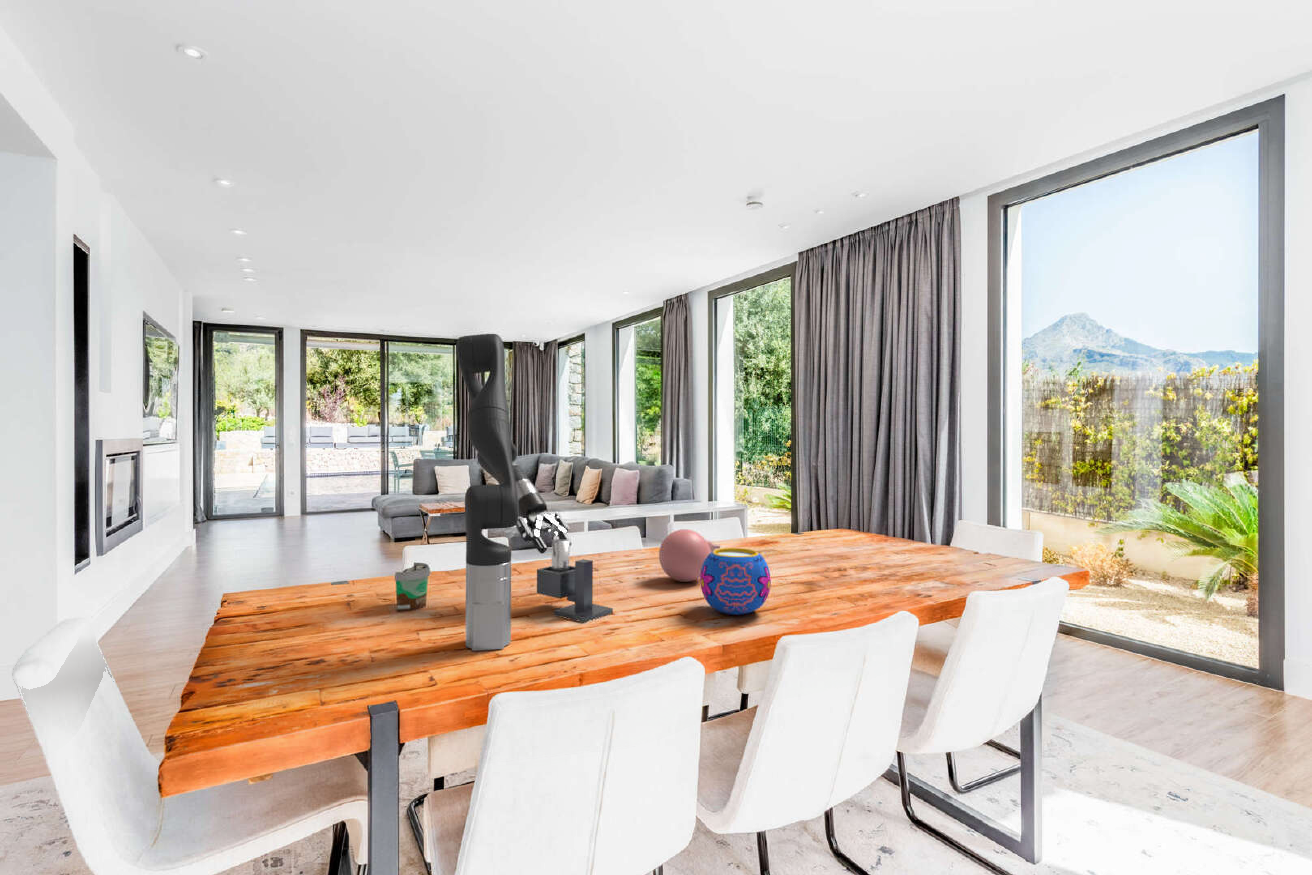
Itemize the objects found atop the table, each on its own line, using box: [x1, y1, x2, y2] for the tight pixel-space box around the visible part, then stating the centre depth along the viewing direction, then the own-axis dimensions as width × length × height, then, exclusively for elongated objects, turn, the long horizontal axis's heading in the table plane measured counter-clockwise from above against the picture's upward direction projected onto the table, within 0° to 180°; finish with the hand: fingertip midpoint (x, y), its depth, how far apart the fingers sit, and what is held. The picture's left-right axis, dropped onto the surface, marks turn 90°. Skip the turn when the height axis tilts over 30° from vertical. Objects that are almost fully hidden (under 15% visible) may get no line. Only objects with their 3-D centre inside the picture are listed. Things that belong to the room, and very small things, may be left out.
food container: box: [394, 562, 432, 613], centre depth 162 cm, size 12×6×10 cm, turn 179°
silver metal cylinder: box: [550, 538, 571, 573], centre depth 161 cm, size 4×4×12 cm
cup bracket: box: [536, 558, 614, 623], centre depth 158 cm, size 17×10×13 cm, turn 54°
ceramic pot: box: [699, 547, 772, 616], centre depth 159 cm, size 18×18×15 cm
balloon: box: [658, 529, 721, 583], centre depth 192 cm, size 15×20×15 cm
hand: (557, 548), depth 162 cm, fingers open, 8 cm apart
